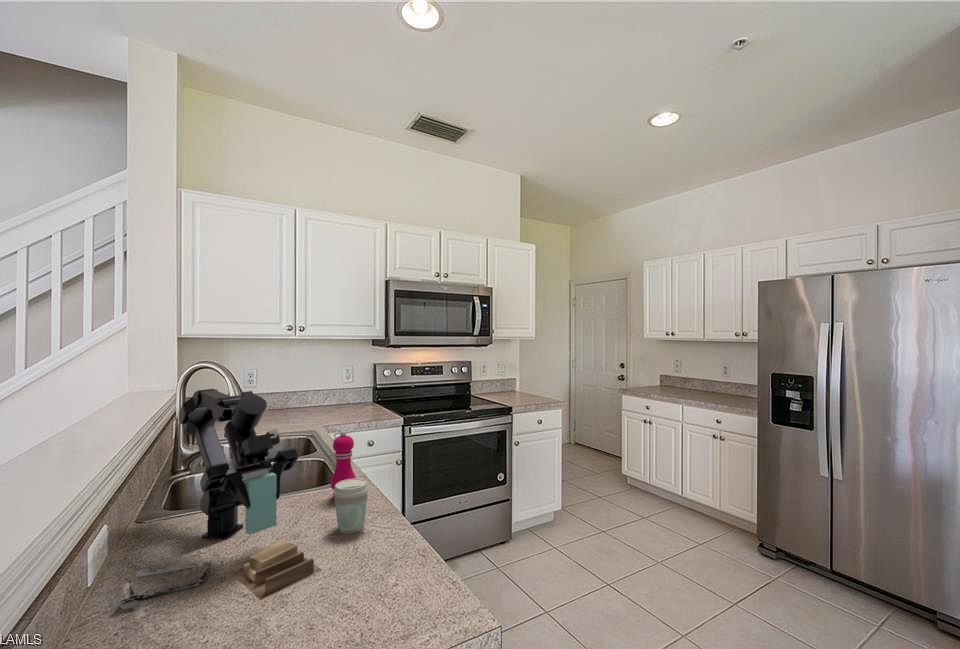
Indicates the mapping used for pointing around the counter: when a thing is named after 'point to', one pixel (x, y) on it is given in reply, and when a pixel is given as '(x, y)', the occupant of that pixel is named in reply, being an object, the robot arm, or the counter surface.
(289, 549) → the offcut stack
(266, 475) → the turquoise upright pillar
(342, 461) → the pepper mill
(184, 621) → the counter surface
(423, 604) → the counter surface
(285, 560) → the walnut rack
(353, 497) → the coffee cup
